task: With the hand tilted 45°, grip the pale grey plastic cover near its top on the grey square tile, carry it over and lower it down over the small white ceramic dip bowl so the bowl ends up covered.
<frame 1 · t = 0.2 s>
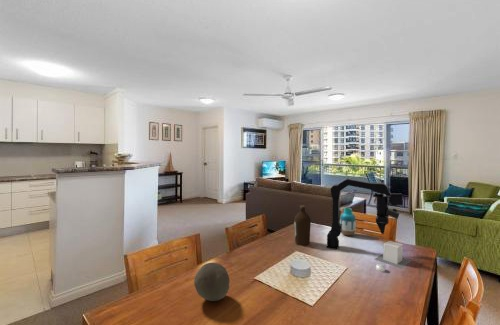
hand: (382, 231, 144), 14 cm above the table, tool pointing down, fingers open, 9 cm apart
olive oil: (302, 243, 165), on the table
grey square tile: (392, 260, 138), on the table
vase: (347, 235, 180), on the table
dark grey ball: (212, 300, 103), on the table
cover: (392, 259, 138), resting on grey square tile
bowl: (380, 270, 127), on the table
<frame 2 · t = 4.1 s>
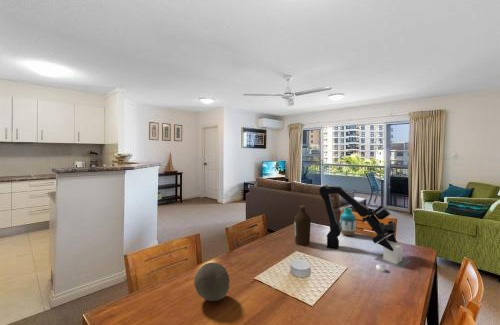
hand: (395, 248, 137), 7 cm above the table, tool tilted 45°, fingers closed on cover, 7 cm apart
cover: (392, 259, 138), resting on grey square tile, touching gripper
everything else where it was.
when the fingers open (8 cm above the table, at t = 8.9 s): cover drops 1 cm, on the table.
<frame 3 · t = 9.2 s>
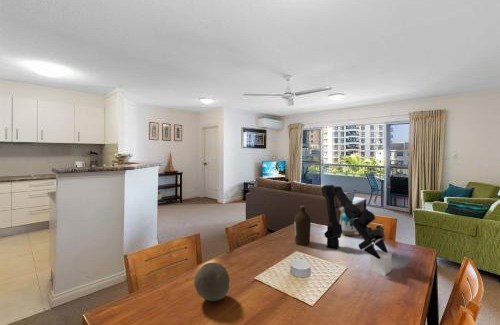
hand: (383, 256, 125), 8 cm above the table, tool tilted 45°, fingers open, 9 cm apart
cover: (380, 270, 127), on the table
everything else where it was.
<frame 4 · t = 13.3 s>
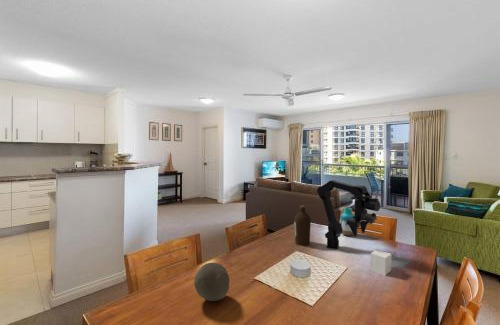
hand: (359, 234, 143), 13 cm above the table, tool pointing down, fingers open, 9 cm apart
nothing on the table moved.
at the end: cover 0.0 cm off-centre on the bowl, point 0.0 cm above the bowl's base; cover tilted 0°; the gripper is holding nothing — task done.
